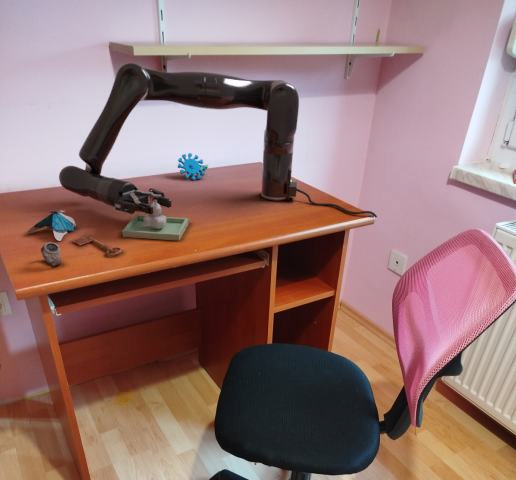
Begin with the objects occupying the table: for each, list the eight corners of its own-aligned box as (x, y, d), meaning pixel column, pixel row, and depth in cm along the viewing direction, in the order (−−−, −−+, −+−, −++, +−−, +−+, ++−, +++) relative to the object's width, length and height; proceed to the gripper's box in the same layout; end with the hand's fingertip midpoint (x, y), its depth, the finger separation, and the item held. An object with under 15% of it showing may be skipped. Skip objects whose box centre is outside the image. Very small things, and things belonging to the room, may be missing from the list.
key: (72, 242, 123) (104, 260, 114) (71, 238, 122) (103, 257, 114) (92, 234, 126) (124, 252, 118) (91, 231, 125) (124, 248, 117)
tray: (188, 223, 135) (188, 218, 134) (179, 240, 125) (179, 234, 124) (136, 220, 136) (135, 214, 135) (122, 236, 126) (122, 230, 125)
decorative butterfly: (84, 212, 128) (56, 215, 119) (84, 237, 130) (57, 241, 121) (53, 206, 131) (24, 208, 122) (54, 230, 133) (25, 234, 124)
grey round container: (53, 269, 110) (48, 248, 107) (39, 260, 113) (34, 240, 110) (67, 264, 112) (63, 244, 109) (53, 256, 115) (48, 236, 112)
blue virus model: (180, 177, 165) (176, 150, 166) (176, 186, 170) (172, 160, 172) (210, 179, 169) (207, 153, 171) (206, 187, 175) (202, 162, 176)
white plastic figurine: (171, 229, 130) (169, 199, 126) (150, 234, 127) (147, 204, 122) (160, 223, 134) (158, 194, 129) (139, 228, 130) (136, 199, 125)
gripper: (94, 185, 126) (139, 199, 118) (135, 174, 136) (179, 186, 128) (98, 213, 130) (142, 228, 123) (137, 200, 140) (181, 213, 133)
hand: (161, 207), depth 126 cm, fingers open, 6 cm apart
